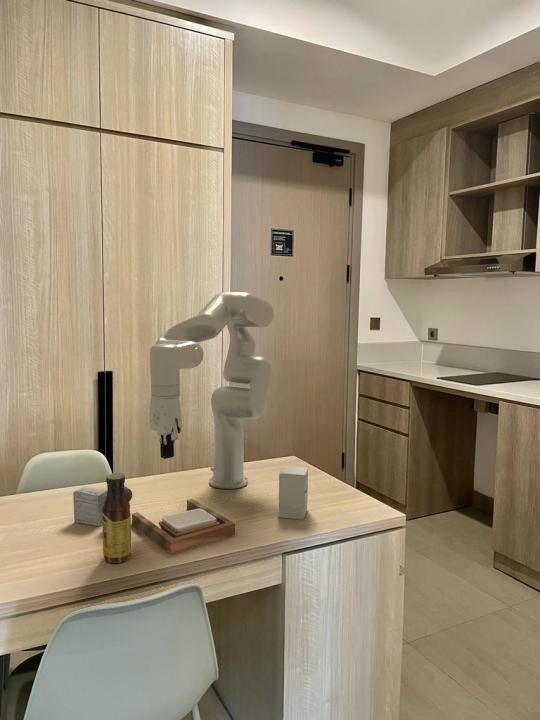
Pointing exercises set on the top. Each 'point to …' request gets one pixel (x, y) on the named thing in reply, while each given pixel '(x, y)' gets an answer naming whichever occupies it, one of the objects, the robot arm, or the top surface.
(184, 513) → the soap dish
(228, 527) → the bay
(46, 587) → the top surface
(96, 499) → the medicine box
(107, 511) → the sauce bottle
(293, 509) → the supplement box
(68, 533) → the top surface
